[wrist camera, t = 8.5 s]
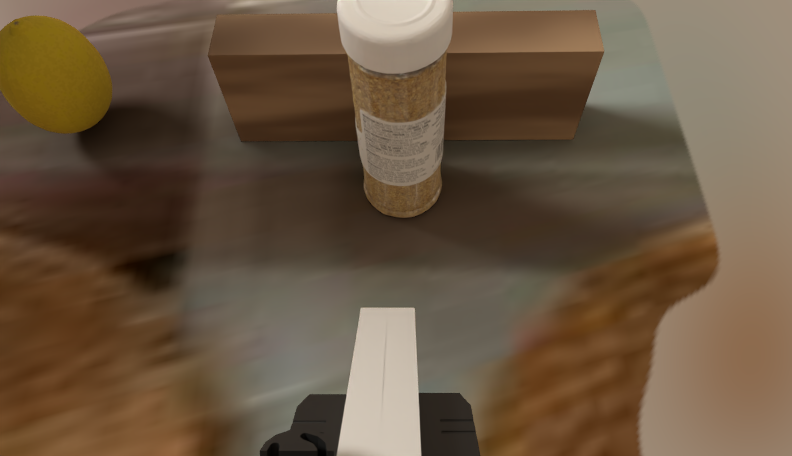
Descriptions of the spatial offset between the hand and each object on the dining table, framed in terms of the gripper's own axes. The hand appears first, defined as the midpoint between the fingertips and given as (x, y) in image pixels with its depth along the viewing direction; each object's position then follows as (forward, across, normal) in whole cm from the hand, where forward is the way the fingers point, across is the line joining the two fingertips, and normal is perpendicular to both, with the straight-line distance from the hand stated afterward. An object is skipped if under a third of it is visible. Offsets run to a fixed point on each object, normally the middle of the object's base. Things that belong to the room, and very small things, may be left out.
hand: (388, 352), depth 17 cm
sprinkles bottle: (+19, 0, 0) cm, 19 cm away
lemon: (+23, -19, +4) cm, 30 cm away
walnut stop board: (+23, +1, +4) cm, 23 cm away
